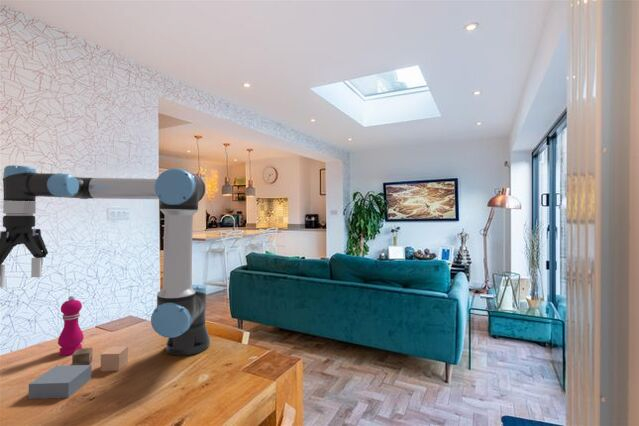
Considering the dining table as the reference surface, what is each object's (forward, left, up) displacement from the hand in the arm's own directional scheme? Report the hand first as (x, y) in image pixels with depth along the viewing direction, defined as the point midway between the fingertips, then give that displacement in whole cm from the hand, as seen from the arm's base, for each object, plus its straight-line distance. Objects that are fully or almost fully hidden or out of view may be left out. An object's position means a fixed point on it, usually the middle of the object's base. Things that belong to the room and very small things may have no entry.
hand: (18, 281), depth 101 cm
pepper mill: (-9, -11, -28) cm, 31 cm away
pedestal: (-22, +13, -28) cm, 37 cm away
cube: (-30, +1, -28) cm, 41 cm away
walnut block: (-19, -1, -28) cm, 33 cm away
